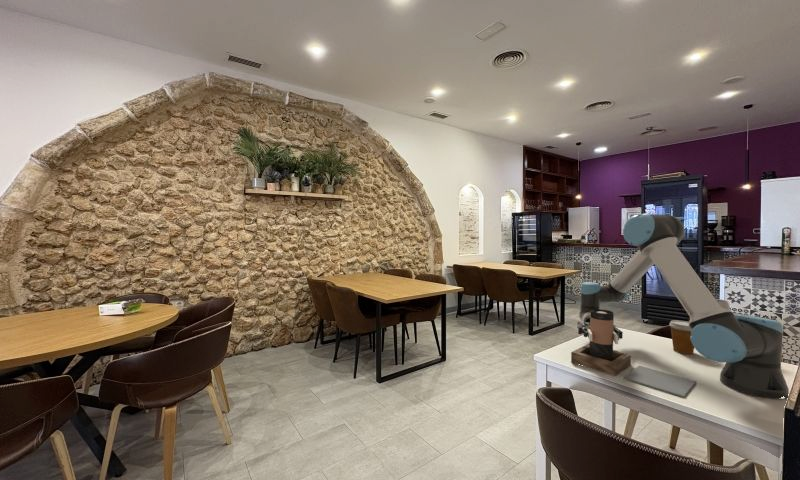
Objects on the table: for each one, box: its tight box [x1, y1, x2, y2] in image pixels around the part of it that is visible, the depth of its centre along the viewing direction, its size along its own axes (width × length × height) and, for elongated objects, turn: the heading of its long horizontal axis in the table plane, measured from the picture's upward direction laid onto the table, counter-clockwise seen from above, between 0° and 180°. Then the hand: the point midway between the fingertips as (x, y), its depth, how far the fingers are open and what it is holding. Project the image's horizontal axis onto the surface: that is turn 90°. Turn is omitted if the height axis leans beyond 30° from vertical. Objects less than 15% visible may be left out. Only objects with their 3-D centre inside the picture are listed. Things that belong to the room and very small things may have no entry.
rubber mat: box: [622, 365, 697, 399], centre depth 112 cm, size 16×16×1 cm
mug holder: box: [570, 343, 632, 377], centre depth 126 cm, size 15×15×4 cm
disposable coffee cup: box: [668, 319, 695, 355], centre depth 138 cm, size 10×10×12 cm
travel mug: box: [589, 308, 615, 361], centre depth 126 cm, size 8×8×20 cm
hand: (603, 338), depth 121 cm, fingers closed on travel mug, 7 cm apart
